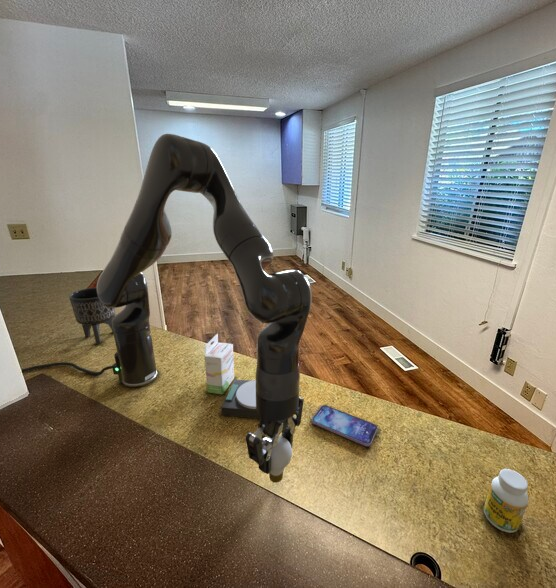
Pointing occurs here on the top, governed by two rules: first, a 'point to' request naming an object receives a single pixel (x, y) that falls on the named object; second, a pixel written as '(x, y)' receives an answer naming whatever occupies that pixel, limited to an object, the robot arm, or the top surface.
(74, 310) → the planter
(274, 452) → the light bulb
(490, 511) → the supplement bottle
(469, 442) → the top surface
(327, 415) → the smartphone
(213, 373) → the ink box
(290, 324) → the robot arm
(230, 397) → the kitchen scale
